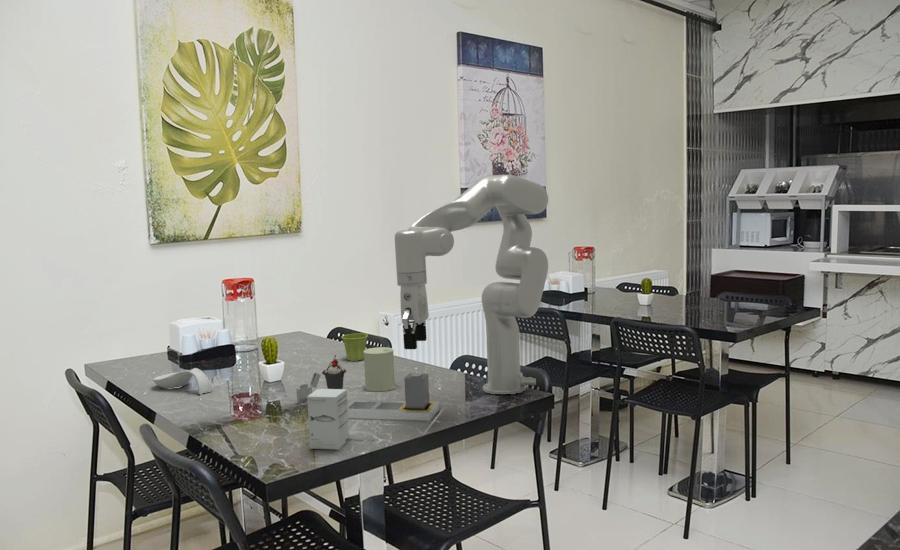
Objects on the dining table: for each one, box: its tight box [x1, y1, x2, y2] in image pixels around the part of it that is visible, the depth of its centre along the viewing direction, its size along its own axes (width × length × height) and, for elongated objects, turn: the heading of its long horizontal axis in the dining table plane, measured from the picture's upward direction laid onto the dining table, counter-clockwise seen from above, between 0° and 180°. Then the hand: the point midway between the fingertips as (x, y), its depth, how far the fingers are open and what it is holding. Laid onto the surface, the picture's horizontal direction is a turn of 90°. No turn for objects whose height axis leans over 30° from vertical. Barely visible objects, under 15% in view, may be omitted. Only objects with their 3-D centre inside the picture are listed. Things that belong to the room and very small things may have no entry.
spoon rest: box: [152, 367, 213, 395], centre depth 228 cm, size 24×12×7 cm, turn 54°
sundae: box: [321, 354, 348, 389], centre depth 201 cm, size 7×7×15 cm
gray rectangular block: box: [403, 373, 430, 410], centre depth 188 cm, size 5×5×10 cm
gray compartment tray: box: [347, 399, 440, 425], centre depth 190 cm, size 24×10×3 cm, turn 78°
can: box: [363, 346, 396, 392], centre depth 220 cm, size 9×9×12 cm
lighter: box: [296, 371, 322, 405], centre depth 208 cm, size 7×2×8 cm, turn 126°
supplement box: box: [307, 388, 349, 451], centre depth 170 cm, size 7×7×13 cm
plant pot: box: [340, 332, 369, 362], centre depth 261 cm, size 9×9×9 cm
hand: (415, 344), depth 187 cm, fingers open, 9 cm apart
